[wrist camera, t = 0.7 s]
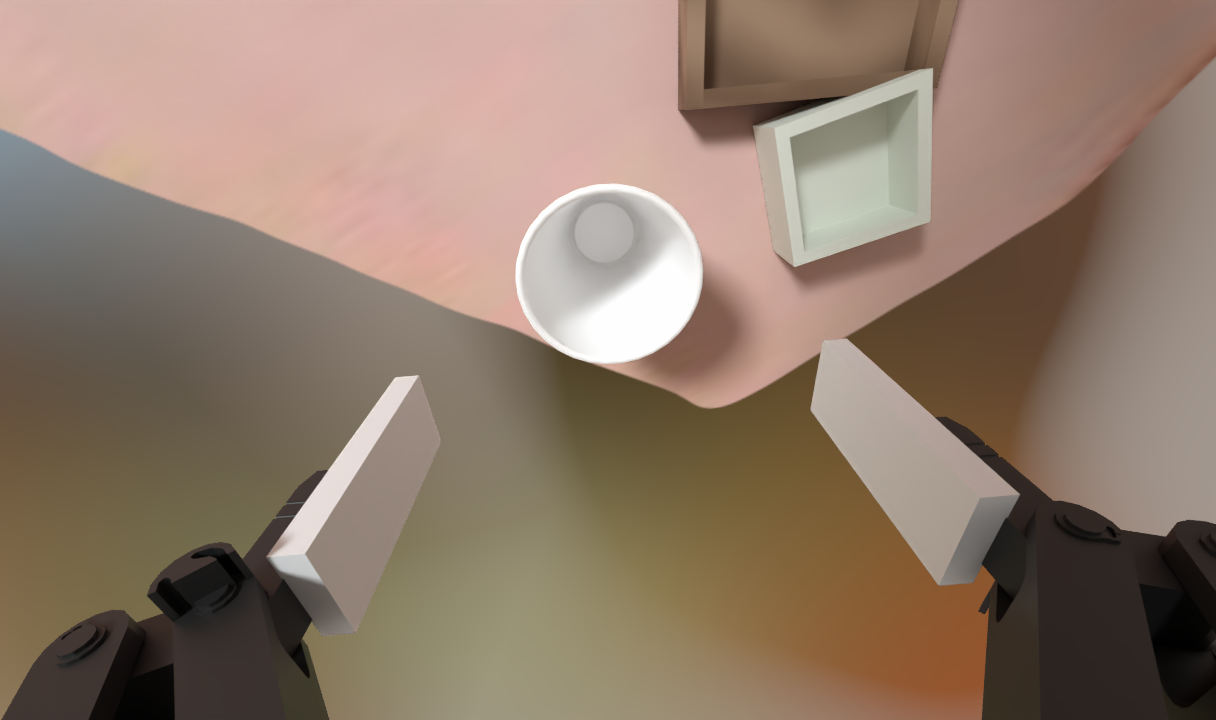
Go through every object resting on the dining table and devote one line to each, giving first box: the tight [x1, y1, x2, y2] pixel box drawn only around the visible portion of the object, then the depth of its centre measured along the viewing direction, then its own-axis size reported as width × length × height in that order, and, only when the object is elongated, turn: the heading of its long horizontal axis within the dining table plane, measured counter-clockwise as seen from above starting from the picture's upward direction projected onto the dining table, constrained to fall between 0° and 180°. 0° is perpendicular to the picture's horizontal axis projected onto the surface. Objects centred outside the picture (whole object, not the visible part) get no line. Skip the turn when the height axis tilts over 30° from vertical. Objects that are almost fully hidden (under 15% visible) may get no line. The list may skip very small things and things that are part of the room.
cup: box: [516, 183, 703, 364], centre depth 28 cm, size 10×10×11 cm
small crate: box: [753, 68, 933, 267], centre depth 30 cm, size 9×9×4 cm
